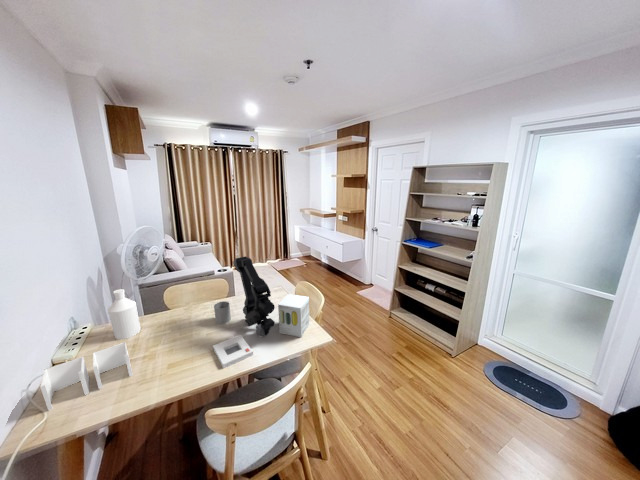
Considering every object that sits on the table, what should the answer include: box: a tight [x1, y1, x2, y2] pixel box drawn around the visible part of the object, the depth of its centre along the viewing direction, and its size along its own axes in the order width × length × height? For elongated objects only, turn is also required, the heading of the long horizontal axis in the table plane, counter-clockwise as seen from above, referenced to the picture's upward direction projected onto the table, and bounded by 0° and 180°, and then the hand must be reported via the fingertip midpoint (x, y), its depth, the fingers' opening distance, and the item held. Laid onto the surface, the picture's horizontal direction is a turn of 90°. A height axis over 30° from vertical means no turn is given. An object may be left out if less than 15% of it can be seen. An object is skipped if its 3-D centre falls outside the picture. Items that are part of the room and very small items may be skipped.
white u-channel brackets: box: [39, 341, 134, 411], centre depth 102 cm, size 25×11×11 cm, turn 131°
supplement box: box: [277, 293, 311, 338], centre depth 138 cm, size 13×13×18 cm
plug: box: [255, 324, 270, 338], centre depth 135 cm, size 4×5×6 cm
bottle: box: [107, 288, 142, 340], centre depth 133 cm, size 12×12×25 cm
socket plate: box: [212, 334, 254, 369], centre depth 121 cm, size 16×14×2 cm
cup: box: [213, 301, 232, 325], centre depth 147 cm, size 8×8×10 cm
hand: (262, 331), depth 136 cm, fingers open, 8 cm apart
